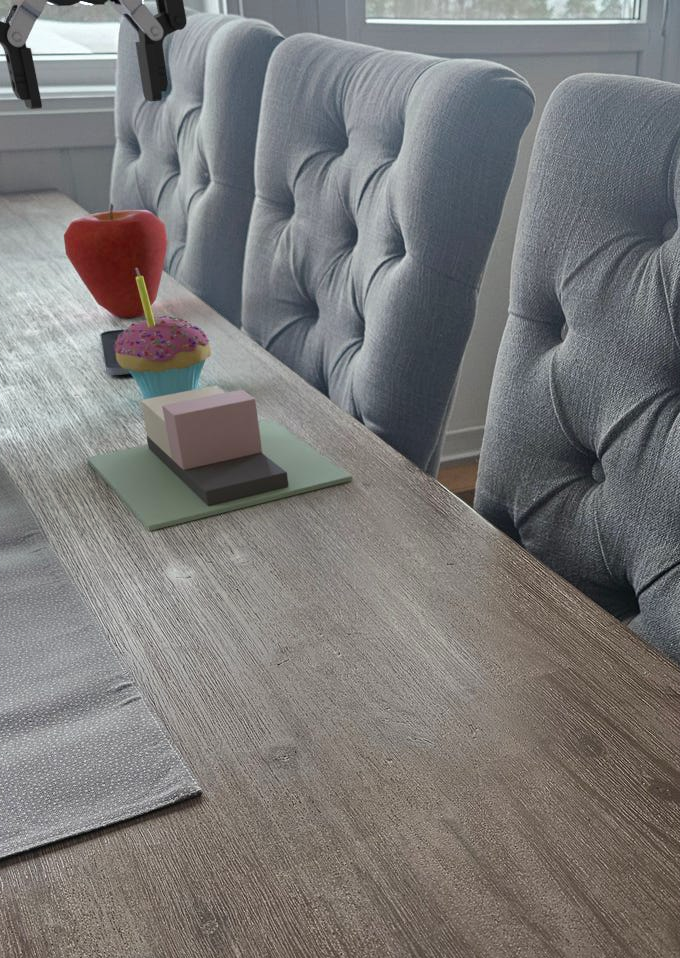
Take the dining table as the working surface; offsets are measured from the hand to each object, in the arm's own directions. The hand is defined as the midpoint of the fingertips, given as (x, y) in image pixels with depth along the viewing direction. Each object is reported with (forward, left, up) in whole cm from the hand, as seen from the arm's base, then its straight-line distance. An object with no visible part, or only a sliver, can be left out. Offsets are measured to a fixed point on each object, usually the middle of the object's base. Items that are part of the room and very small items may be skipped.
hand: (95, 104), depth 80 cm
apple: (+11, +43, -26) cm, 52 cm away
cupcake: (+5, +11, -26) cm, 29 cm away
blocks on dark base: (+2, -9, -25) cm, 27 cm away
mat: (+2, -9, -26) cm, 27 cm away
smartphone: (+7, +26, -26) cm, 37 cm away
